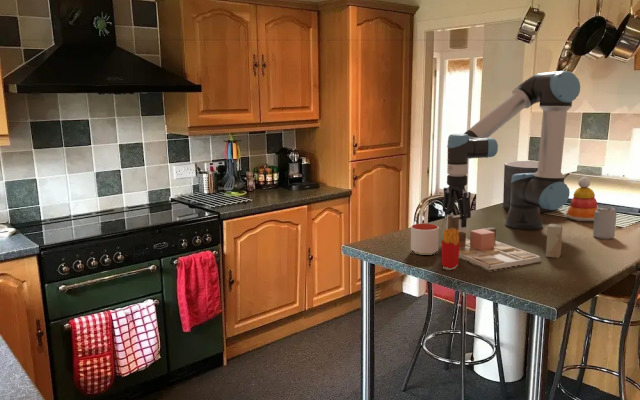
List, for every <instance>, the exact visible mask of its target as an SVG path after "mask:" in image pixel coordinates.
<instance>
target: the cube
mask: <svg viewBox="0 0 640 400" xmlns="http://www.w3.org/2000/svg"><path fill="white" fill-rule="evenodd" d="M469 232H470V235H469V239H470V247H472V248H475V249H478V250H480V251H482V250H488V249H494V239H495V232H492V231H489V230H486V229H483V228H479V229H473V230H470V231H469Z"/></svg>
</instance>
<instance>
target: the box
mask: <svg viewBox="0 0 640 400" xmlns="http://www.w3.org/2000/svg"><path fill="white" fill-rule="evenodd" d="M562 238H563V224H557V223H549V224H548V225H547V233H546V250H545V257H548V258H549V257H550V258H554V259H555V258H557V259H559V258H560V256H561V252H562V241H563V240H562Z"/></svg>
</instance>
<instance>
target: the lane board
mask: <svg viewBox="0 0 640 400" xmlns="http://www.w3.org/2000/svg"><path fill="white" fill-rule="evenodd" d="M496 242H499V243H502V244H504V245H507V246H510V247H513V248H514V251H508V252H503V251H500V250H499V253H496V254H490V255H489V256H491V257H494V258H496V259H499V260H501V261H503V263H501V264H496V265H487V264H485V263H483V262H480V261H478V260H475V259H473V258H472V257H474V256H479V255H485V253H482V252H480V251H477V250H476V253H475V254H469V255H464V254H461V253H459V255H460V256H462V257H464V258H466V259H468V260H471V261H473V262H475V263H476V264H478V265H481V266H483V267H485V268H487V269H489V270H491V269H497V268H503V267H510V268H512V267H511V266H515V267H518V266H517V265H520V266H525V265H530V264H535V263H540V262H541V261H542V259H541V258H542V257H541V255H537V254H535V253H532V252H529V251H526V250H524V249H520V248H518V247H514V246H512V245H510V244H507V243H503V242H501V241H497V240H496ZM466 247H467V246H466ZM468 248H470V247H468ZM471 249H472V248H471ZM473 250H475V249H473ZM518 251H524V252H527V253H530V254H533V255H535V257H533V258H527V259H521V258H519V257H516V256H513V255H511V254H509V253H512V252H518ZM486 255H487V254H486Z"/></svg>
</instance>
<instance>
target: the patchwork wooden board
mask: <svg viewBox="0 0 640 400" xmlns="http://www.w3.org/2000/svg"><path fill="white" fill-rule="evenodd" d="M482 229H486V230H489V231H492V232H495V239H494V249H497V250H500V251H503V252H508V251H514V248H513V247H514V246H512V247H510V246H511V245H509V246H507V245H508V244H506V245H504V244H505V243H504V244H502V243H503V242H501V243H499V242H500V241H498V242H496V241H497V239H496V236H497V235H496V234H497V228H496V227H483V228H482ZM466 236H467V233H464V232H459V239H460V245H459V253H461V254H464V255H469V254H475V253H476V250H473V249H471V248H468V247H466V238H467V237H466ZM524 251H525V250H524ZM524 251H518V252H512V253H509V254H511V255H513V256H516V257H519V258H521V259H527V258H533V257H535V255H536V254H535V255H533V254H534V253H532V254H530V253H531V252H529V253H527V252H528V251H526V252H524ZM472 258H473V259H475V260H478V261H480V262H483V263H485V264H487V265H496V264H501V263H503V261H501V260H499V259H496V258H494V257H491V256H489V255H486V254H485V255H479V256H474V257H472Z"/></svg>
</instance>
